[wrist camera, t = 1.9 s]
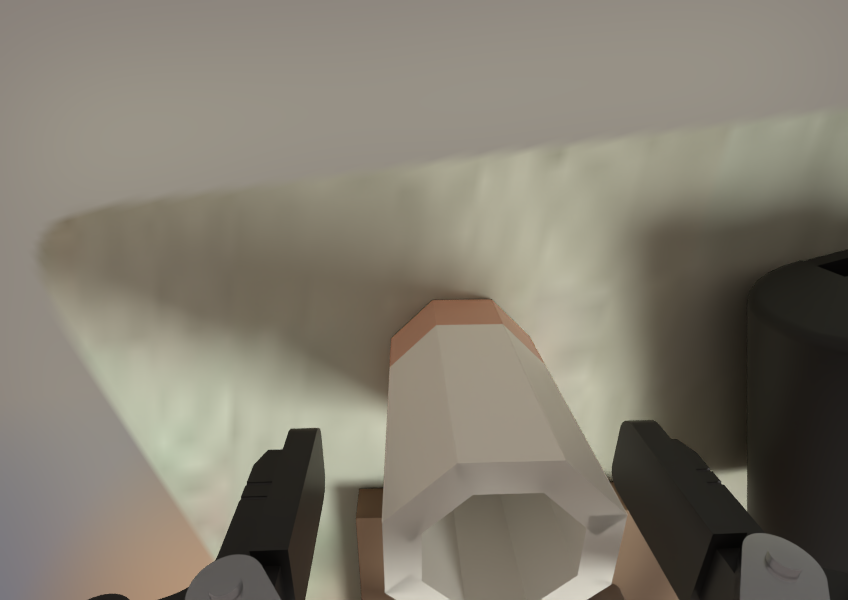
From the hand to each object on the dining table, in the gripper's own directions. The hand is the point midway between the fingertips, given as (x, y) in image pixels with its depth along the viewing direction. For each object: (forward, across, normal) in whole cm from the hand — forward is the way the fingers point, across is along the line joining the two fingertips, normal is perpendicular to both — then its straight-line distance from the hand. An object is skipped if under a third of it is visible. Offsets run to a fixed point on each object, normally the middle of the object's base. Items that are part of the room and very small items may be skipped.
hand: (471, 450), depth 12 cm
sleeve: (+5, 0, 0) cm, 5 cm away
